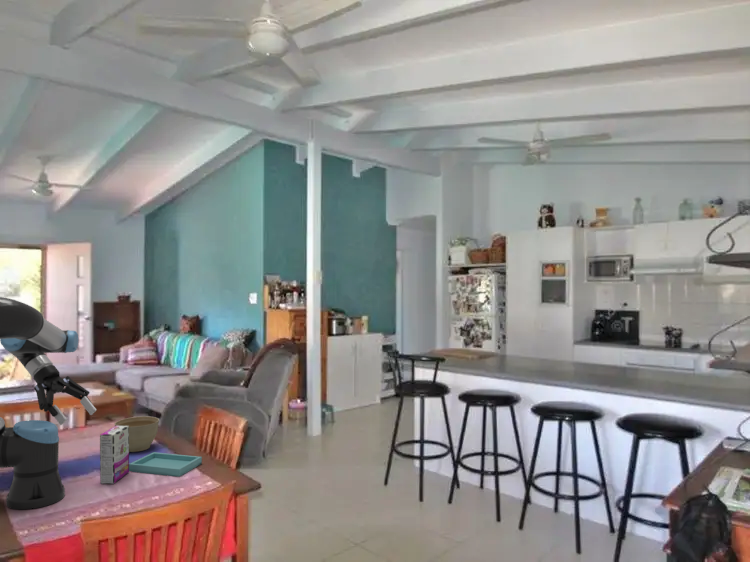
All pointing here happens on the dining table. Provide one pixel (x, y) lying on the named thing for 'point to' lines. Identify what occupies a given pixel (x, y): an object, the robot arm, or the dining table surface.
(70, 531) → the dining table surface
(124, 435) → the candy bar box
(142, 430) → the planter bowl
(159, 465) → the tray
